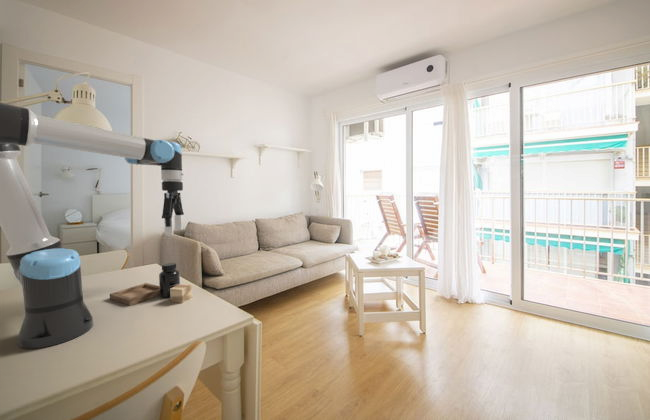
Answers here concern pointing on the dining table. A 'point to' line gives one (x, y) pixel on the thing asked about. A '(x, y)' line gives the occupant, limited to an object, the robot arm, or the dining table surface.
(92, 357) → the dining table surface
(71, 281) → the robot arm
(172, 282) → the supplement bottle
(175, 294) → the oak block
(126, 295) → the walnut tray
